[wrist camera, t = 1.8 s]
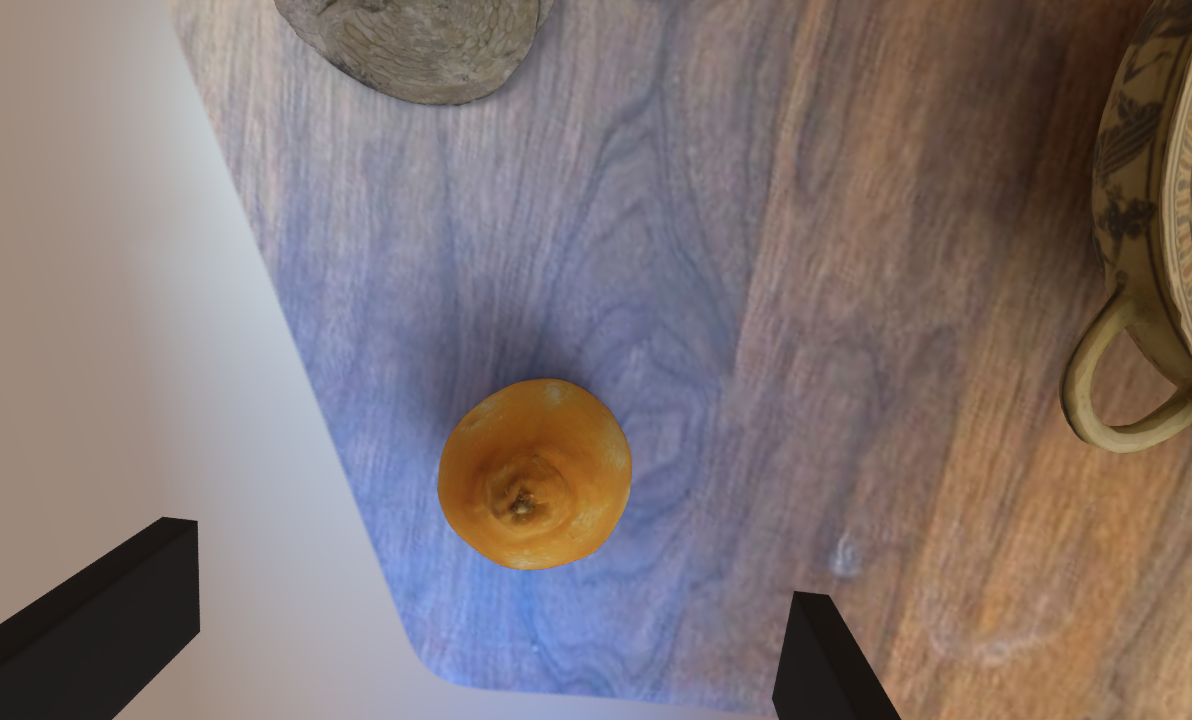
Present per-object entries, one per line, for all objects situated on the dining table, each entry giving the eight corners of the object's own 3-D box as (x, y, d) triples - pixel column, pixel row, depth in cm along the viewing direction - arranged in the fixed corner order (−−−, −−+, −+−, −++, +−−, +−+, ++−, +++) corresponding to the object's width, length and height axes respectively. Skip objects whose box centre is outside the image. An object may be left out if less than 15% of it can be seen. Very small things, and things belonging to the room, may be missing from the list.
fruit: (520, 312, 27) (446, 456, 21) (679, 403, 28) (651, 561, 22) (458, 413, 32) (385, 550, 27) (594, 485, 34) (553, 630, 28)
